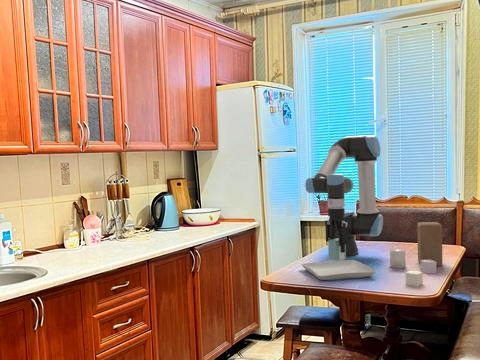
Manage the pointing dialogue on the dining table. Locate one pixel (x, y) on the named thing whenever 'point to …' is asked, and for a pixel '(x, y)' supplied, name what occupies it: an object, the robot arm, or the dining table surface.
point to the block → (430, 242)
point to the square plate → (339, 269)
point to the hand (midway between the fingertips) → (337, 258)
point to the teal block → (334, 249)
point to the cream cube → (414, 278)
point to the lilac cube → (428, 266)
